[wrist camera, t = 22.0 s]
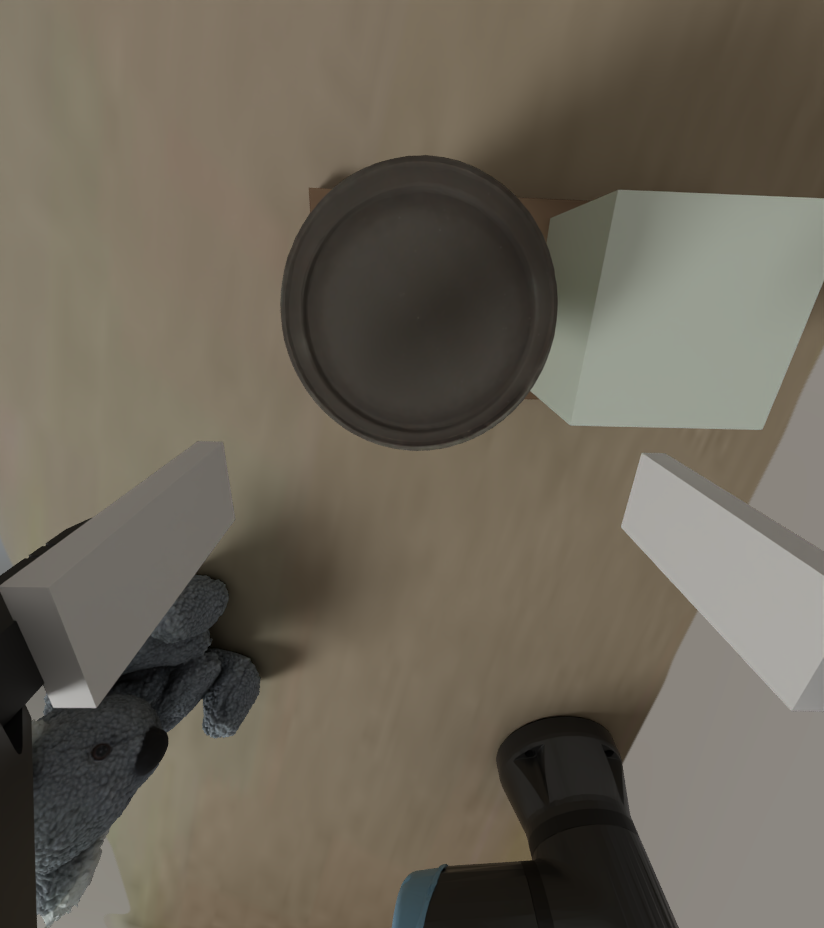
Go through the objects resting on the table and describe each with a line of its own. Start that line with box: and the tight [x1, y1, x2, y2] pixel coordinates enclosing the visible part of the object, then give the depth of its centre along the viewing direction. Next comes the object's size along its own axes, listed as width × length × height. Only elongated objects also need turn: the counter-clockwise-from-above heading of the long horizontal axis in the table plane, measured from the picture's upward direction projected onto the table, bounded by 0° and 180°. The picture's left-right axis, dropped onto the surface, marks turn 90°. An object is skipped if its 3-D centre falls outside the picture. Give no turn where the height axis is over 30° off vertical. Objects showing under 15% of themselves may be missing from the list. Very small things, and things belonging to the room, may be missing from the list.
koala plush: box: [32, 575, 260, 928], centre depth 34 cm, size 17×18×20 cm
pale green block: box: [530, 190, 824, 430], centre depth 24 cm, size 11×11×9 cm
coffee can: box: [280, 155, 558, 451], centre depth 21 cm, size 10×10×14 cm
